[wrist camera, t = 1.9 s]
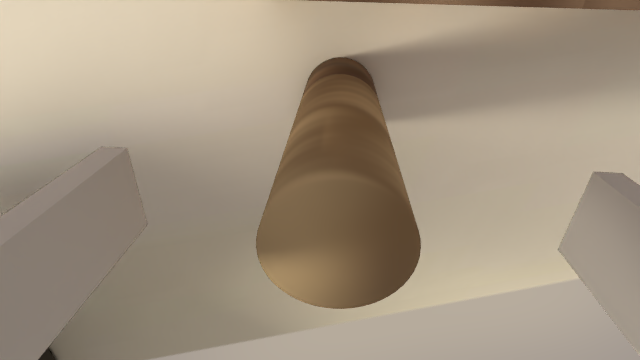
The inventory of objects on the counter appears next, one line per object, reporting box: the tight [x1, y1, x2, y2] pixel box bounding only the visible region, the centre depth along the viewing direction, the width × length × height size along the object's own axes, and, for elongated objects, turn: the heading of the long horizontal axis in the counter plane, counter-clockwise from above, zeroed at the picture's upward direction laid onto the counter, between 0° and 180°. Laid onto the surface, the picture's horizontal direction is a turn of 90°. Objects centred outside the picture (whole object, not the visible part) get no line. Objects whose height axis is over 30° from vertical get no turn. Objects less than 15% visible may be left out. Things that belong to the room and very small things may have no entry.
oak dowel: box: [256, 58, 421, 309], centre depth 15 cm, size 4×4×14 cm
